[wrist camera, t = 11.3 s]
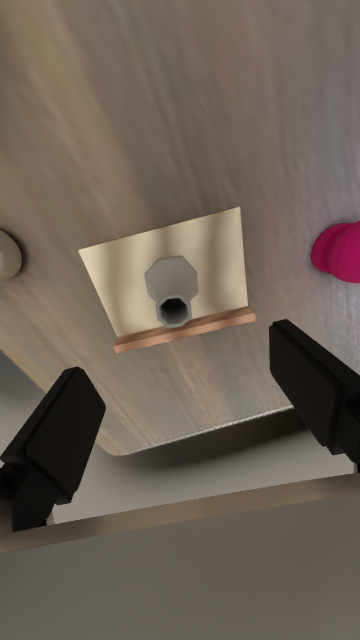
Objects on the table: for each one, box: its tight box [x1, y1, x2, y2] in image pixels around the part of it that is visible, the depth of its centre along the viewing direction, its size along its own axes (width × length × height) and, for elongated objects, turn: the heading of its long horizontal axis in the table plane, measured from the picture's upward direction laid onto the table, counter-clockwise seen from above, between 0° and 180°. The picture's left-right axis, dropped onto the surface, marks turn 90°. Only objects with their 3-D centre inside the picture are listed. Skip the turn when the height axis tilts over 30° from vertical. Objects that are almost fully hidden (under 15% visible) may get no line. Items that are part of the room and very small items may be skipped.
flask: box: [144, 255, 198, 328], centre depth 20 cm, size 7×7×10 cm
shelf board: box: [78, 207, 256, 353], centre depth 25 cm, size 20×14×4 cm
